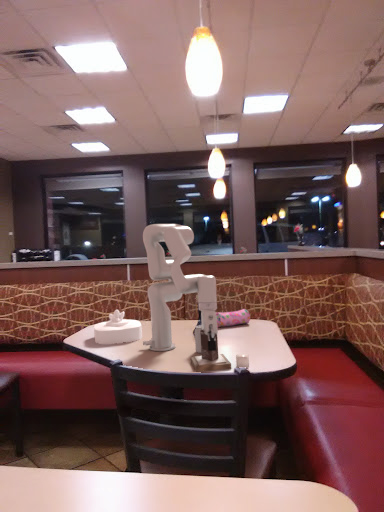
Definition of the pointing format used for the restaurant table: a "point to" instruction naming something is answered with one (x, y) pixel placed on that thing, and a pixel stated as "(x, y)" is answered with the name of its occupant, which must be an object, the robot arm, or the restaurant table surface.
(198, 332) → the can
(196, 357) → the stand
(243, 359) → the white small block
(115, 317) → the tissue box
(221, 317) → the pencil case
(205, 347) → the box
